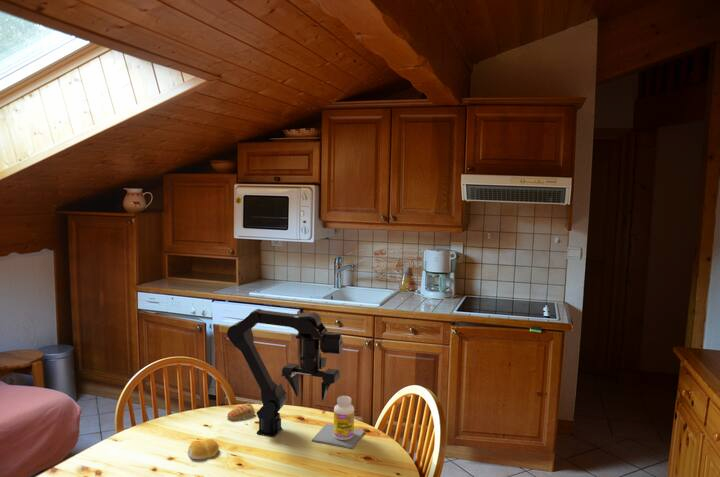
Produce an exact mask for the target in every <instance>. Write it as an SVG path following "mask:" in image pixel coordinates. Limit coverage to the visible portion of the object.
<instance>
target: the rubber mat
mask: <svg viewBox="0 0 720 477" xmlns="http://www.w3.org/2000/svg"><path fill="white" fill-rule="evenodd" d="M365 431H366V430H365V429H357V428H354V435H353V437H352V438H351V439H349V440H339V439H336V438H335V437H334V424H329V423H326V424H325V425H324V426H323V427H322V428H321V429H320V430H319V431H318V432H317V433H316V434H315V436H313V437H312V438H311V442H313V443H319V444H324V445H330V446H335V447H340V448H345V449H350V450H353V449H354V448H355V447H356V445H357V443H359V440H360V439H361V438H362V437H363V435H364V434H365Z"/></svg>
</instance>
